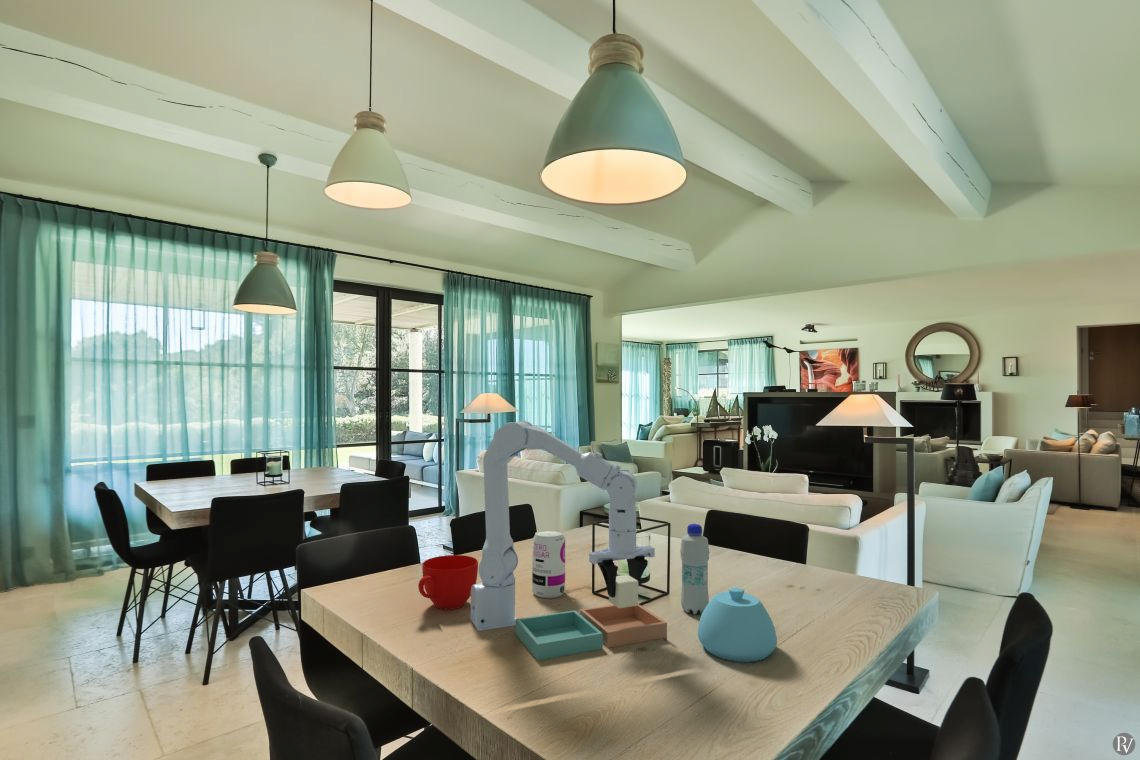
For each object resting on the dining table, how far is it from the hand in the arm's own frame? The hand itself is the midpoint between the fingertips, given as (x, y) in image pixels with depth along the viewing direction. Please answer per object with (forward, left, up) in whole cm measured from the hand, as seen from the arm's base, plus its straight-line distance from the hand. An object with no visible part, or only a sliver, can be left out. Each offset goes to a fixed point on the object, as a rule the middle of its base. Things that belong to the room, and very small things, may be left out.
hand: (622, 594), depth 124 cm
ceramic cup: (-32, +29, -8) cm, 44 cm away
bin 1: (-15, 0, -8) cm, 17 cm away
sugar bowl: (+17, -15, -8) cm, 24 cm away
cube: (0, 0, -2) cm, 2 cm away
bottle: (+21, +5, -8) cm, 24 cm away
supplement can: (-6, +29, -8) cm, 31 cm away
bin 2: (0, 0, -8) cm, 8 cm away
